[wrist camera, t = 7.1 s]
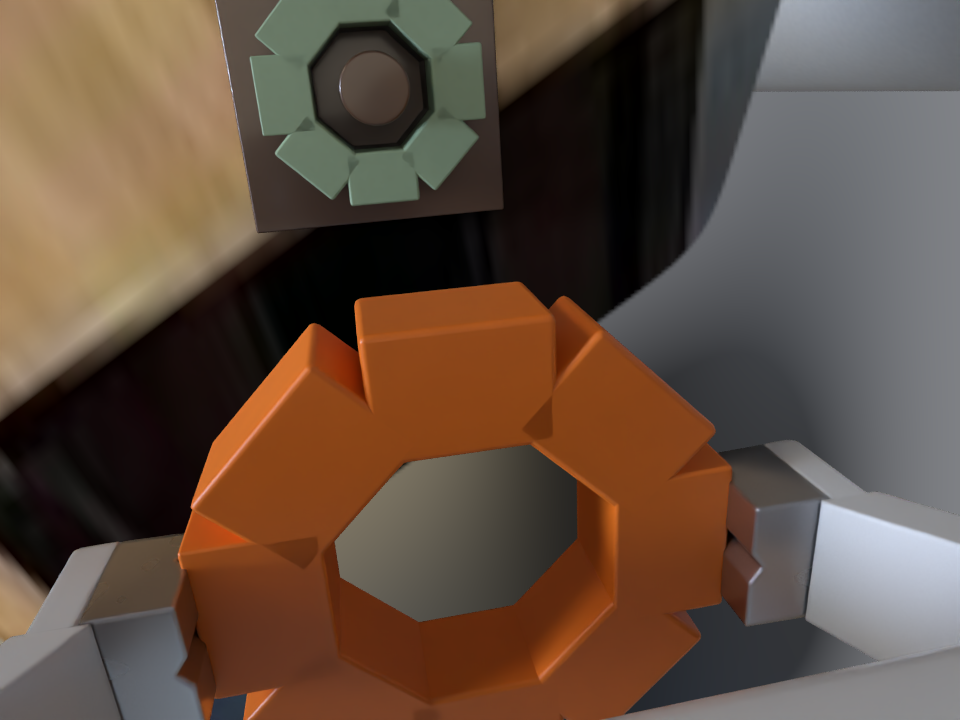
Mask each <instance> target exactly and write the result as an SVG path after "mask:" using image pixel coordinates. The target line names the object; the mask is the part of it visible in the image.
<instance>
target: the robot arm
mask: <svg viewBox="0 0 960 720" xmlns="http://www.w3.org/2000/svg"><path fill="white" fill-rule="evenodd" d="M718 454H719V455H720V456H721V457H722V458H723V459H724V460H726V461H727V462H728V463H729V464H730V465H731V467H732V481H730V484H729V495H728V506H727V517H726V527H727V528H728V531H727V543H726V548H725V550H724V553H723V567H722V581H721V595H722V596H723V597H724V599H725V600H726V601H727V603H728V604H729V605H730V606H731V608H732V609H733V610H734V612H735V613H736V614H737V615H738V617H739V618H740V619H741V621H742V622H743V623H744V624H745V625H746V626H752V625H759V624H765V623H771V622H777V621H782V620H789V619H795V618H800V617H805V620H807V621H808V622H810V623H812V624H813V625H815V626H817V627H819V628H821V629H822V630H824V631H826V632H828V633H829V634H831V635H833V636H835V637H836V638H838V639H840V640H841V641H843V642H845V643H847V644H848V645H850V646H852V647H854V648H856V649H857V650H859V651H861V652H862V653H864V654H866V655H868V656H869V657H871V658H873V659H875V660H876V661H878V662H873V663H868V664H864V665H859V666H854V667H849V668H844V669H840V670H835V671H830V672H825V673H821V674H816V675H811V676H806V677H802V678H797V679H792V680H788V681H782V682H778V683H773V684H768V685H764V686H759V687H754V688H750V689H745V690H740V691H735V692H730V693H725V694H721V695H716V696H711V697H706V698H702V699H697V700H692V701H687V702H683V703H678V704H673V705H668V706H664V707H659V708H654V709H650V710H645V711H640V712H635V713H631V714H626V715H621V716H616V717H612V718H607V719H602V720H960V515H957V514H954V513H950V512H947V511H943V510H940V509H936V508H933V507H929V506H926V505H923V504H919V503H916V502H912V501H909V500H905V499H902V498H899V497H895V496H892V495H888V494H884V493H881V492H878V491H875V492H869V493H866V492H865V491H864V490H862V489H861V488H860V487H858V486H857V485H855V484H854V483H853V482H852V481H850V480H849V479H847V478H846V477H845V476H843V475H842V474H841V473H839V472H838V471H837V470H835V469H834V468H833V467H831V466H830V465H829V464H827V463H826V462H825V461H823V460H822V459H821V458H819V457H818V456H816V455H815V454H814V453H812V452H811V451H810V450H808V449H807V448H806V447H804V446H803V445H802V444H800V443H799V442H798V441H793V440H783V441H777V442H773V443H767V444H762V445H758V446H752V447H747V448H741V449H735V450H730V451H724V452H719V453H718ZM184 534H185V533H183V534H175V535H168V536H161V537H153V538H146V539H138V540H131V541H124V542H122V543H121V542H113V543H107V544H101V545H95V546H90V547H84V548H80V549H78V550H76V551H74V552H73V553H72V555H71V557H70V558H69V560H68V562H67V564H66V565H65V567H64V569H63V570H62V572H61V574H60V576H59V577H58V579H57V581H56V583H55V584H54V586H53V588H52V589H51V591H50V593H49V595H48V596H47V598H46V600H45V601H44V603H43V605H42V607H41V608H40V610H39V612H38V614H37V615H36V617H35V619H34V620H33V622H32V624H31V626H30V627H29V629H28V631H27V632H26V634H25V635H19V636H13V637H10V638H9V639H8V640H6V641H5V642H3V643H2V644H1V645H0V720H210V716H211V711H212V707H213V702H214V697H215V692H216V684H215V680H214V676H213V672H212V667H211V663H210V659H209V655H208V651H207V647H206V644H205V643H204V642H202V641H201V640H200V639H199V636H198V633H197V629H196V624H197V620H198V616H199V615H198V611H197V608H196V604H195V600H194V596H193V593H192V589H191V585H190V581H189V578H188V574H187V570H186V569H181V567H180V563H179V559H178V551H179V548H180V546H181V543H182V540H183V537H184Z"/></svg>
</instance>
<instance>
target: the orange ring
mask: <svg viewBox="0 0 960 720" xmlns="http://www.w3.org/2000/svg"><path fill="white" fill-rule="evenodd" d="M355 318H356V329H357V341H358V349H359V353H358V352H356V351H355V350H354V349H352V348H351V347H349V346H348V345H347V344H345V343H344V342H343V341H341V340H340V339H338V338H337V337H336V336H334V335H333V334H331V333H330V332H329V331H327V330H326V329H325V328H323V327H322V326H320V325H319V324H315V323H313V324H311V325H309V326H308V328H307V329H306V330H305V331H304V333H303V334H302V335H301V336H300V337H299V339H298V340H297V341H296V342H295V343H294V345H293V346H292V347H291V348H290V350H289V351H288V352H287V353H286V354H285V356H284V357H283V358H282V359H281V361H280V362H279V363H278V364H277V365H276V367H275V368H274V369H273V370H272V371H271V373H270V374H269V375H268V376H267V378H266V379H265V380H264V381H263V382H262V384H261V385H260V386H259V387H258V389H257V390H256V391H255V392H254V393H253V395H252V396H251V397H250V398H249V399H248V401H247V402H246V403H245V404H244V406H243V407H242V408H241V409H240V410H239V412H238V413H237V414H236V415H235V416H234V418H233V419H232V420H231V421H230V423H229V424H228V425H227V426H226V427H225V429H224V430H223V431H222V432H221V434H220V435H219V436H218V437H217V438H216V440H215V441H214V442H213V444H212V446H211V449H210V452H209V455H208V458H207V461H206V464H205V466H204V469H203V472H202V475H201V478H200V481H199V483H198V486H197V489H196V492H195V495H194V498H193V500H192V504H191V509H192V510H193V511H192V514H191V516H190V519H189V522H188V525H187V528H186V531H185V534H184V537H183V540H182V543H181V546H180V548H179V551H178V559H179V563H180V567H181V569H186V570H187V574H188V578H189V581H190V585H191V589H192V593H193V596H194V600H195V604H196V608H197V611H198V615H199V616H198V620H197V624H196V629H197V633H198V636H199V639H200V640H201V641H202V642H204V643H205V644H206V647H207V651H208V655H209V659H210V663H211V667H212V672H213V676H214V680H215V684H216V692H215V699H220V698H226V697H231V696H236V695H242V694H247V699H246V705H245V712H244V719H243V720H563V718H565V719H567V720H602V719H607V718H612V717H616V716H621V715H624V714H625V713H626V712H627V711H628V710H629V709H630V708H631V707H632V706H633V705H634V704H635V703H636V702H637V701H638V700H639V699H640V698H641V697H642V696H643V695H644V694H645V693H646V692H647V691H648V690H649V689H650V688H651V687H652V686H653V685H654V684H655V683H656V682H657V681H658V680H659V679H661V678H662V677H663V676H664V675H665V673H667V672H668V671H669V670H670V669H671V668H672V667H673V666H674V665H675V664H676V663H677V662H678V661H679V660H680V659H681V658H682V657H683V656H684V655H685V654H686V653H687V652H688V651H689V650H690V649H691V648H692V647H693V646H694V645H695V644H696V643H697V642H698V641H699V640H700V638H701V634H700V632H699V630H698V628H697V627H696V625H695V624H694V622H693V621H692V620H691V618H690V617H689V615H688V614H687V612H686V611H685V610H690V609H695V608H701V607H706V606H712V605H716V604H720V603H721V601H722V595H721V581H722V567H723V553H724V550H725V548H726V543H727V531H728V528H727V527H726V517H727V506H728V495H729V484H730V481H732V467H731V465H730V464H729V463H728V462H727V461H726V460H724V459H723V458H722V457H721V456H720V455H719V454H718V453H717V452H716V451H715V450H714V449H713V448H711V446H710V445H708V444H707V442H708V441H709V440H710V439H711V438H712V437H713V436H714V434H715V432H716V430H715V428H714V425H713V424H712V423H711V422H710V421H709V420H707V419H706V418H705V417H704V416H703V415H702V414H701V413H700V412H698V411H697V410H696V409H695V408H694V407H693V406H692V405H690V404H689V403H688V402H687V401H686V400H685V399H684V398H682V397H681V396H680V395H679V394H678V393H677V392H676V391H675V390H673V389H672V388H671V387H670V386H669V385H668V384H667V383H665V382H664V381H663V380H662V379H661V378H660V377H659V376H657V375H656V374H655V373H654V372H653V371H652V370H651V369H649V368H648V367H647V366H646V365H645V364H644V363H643V362H641V361H640V360H639V359H638V358H637V357H636V356H634V355H633V354H632V353H631V352H630V351H629V350H628V349H627V348H626V347H624V346H623V345H622V344H621V343H620V342H619V341H618V340H616V339H615V338H614V337H613V336H612V335H611V334H610V333H608V332H607V331H606V330H605V329H604V328H603V327H601V326H600V325H599V324H598V323H597V322H596V321H595V320H594V319H593V318H591V317H590V316H589V315H588V314H587V313H586V312H585V311H583V310H582V309H581V308H580V307H579V306H578V305H577V304H575V303H574V302H573V301H572V300H571V299H570V298H569V297H565V296H562V297H560V298H559V299H558V300H557V301H556V302H555V303H554V304H553V305H552V306H551V308H550V309H549V310H548V309H547V308H546V307H545V306H544V305H543V304H542V303H541V302H540V301H539V300H538V299H537V298H536V297H535V296H534V295H533V294H532V293H531V292H530V290H529V289H528V288H527V287H526V286H525V285H524V284H523V283H520V282H510V283H500V284H491V285H482V286H472V287H463V288H454V289H444V290H435V291H426V292H416V293H407V294H398V295H388V296H379V297H370V298H361V299H359V300H357V301H356V302H355ZM528 444H530V445H532V446H533V447H535V448H536V449H537V450H538V451H540V452H541V453H542V454H544V455H545V456H547V457H548V458H549V459H551V460H552V461H553V462H555V463H556V464H557V465H559V466H560V467H561V468H563V469H564V470H565V471H567V472H568V473H570V474H571V475H572V476H573V477H575V478H576V479H577V533H578V534H577V535H578V538H577V539H576V540H575V542H574V543H573V544H572V545H571V546H570V547H569V548H568V549H567V550H566V551H565V552H564V553H563V554H562V555H561V556H560V557H559V558H558V559H557V560H556V561H555V563H554V564H553V565H552V566H551V567H550V568H549V569H548V570H547V571H546V572H545V573H544V574H543V575H542V576H541V577H540V578H539V579H538V580H537V581H536V583H534V585H533V586H532V587H531V588H530V589H529V590H528V591H527V592H526V593H525V594H524V595H523V596H522V597H521V598H520V599H519V600H518V601H517V602H516V603H515V604H514V605H512V606H506V607H501V608H495V609H490V610H484V611H479V612H473V613H468V614H462V615H456V616H451V617H445V618H440V619H435V620H429V621H423V622H417V621H416V620H414V619H412V618H410V617H409V616H407V615H405V614H403V613H402V612H400V611H398V610H396V609H395V608H393V607H391V606H389V605H388V604H386V603H384V602H382V601H381V600H379V599H377V598H375V597H373V596H372V595H370V594H368V593H366V592H365V591H363V590H361V589H359V588H358V587H356V586H354V585H352V584H351V583H349V582H347V581H345V580H344V579H342V578H340V574H339V568H338V561H337V555H336V549H335V543H334V541H335V540H336V539H337V538H338V537H339V535H340V534H341V533H342V532H343V531H344V530H345V528H346V527H347V526H348V525H349V524H350V523H351V522H352V521H353V520H354V518H355V517H356V516H357V515H358V514H359V513H360V512H361V510H362V509H363V508H364V507H365V506H366V505H367V504H368V503H369V501H370V500H371V499H372V498H373V497H374V496H375V495H376V493H377V492H378V491H379V490H380V489H381V488H382V487H383V486H384V484H385V483H386V482H387V481H388V480H389V479H390V478H391V477H392V475H393V474H394V473H395V472H396V471H397V470H398V469H399V467H400V466H401V465H402V464H403V463H404V462H411V461H418V460H425V459H431V458H438V457H446V456H452V455H459V454H466V453H473V452H480V451H487V450H493V449H501V448H507V447H514V446H521V445H528Z"/></svg>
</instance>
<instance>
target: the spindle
mask: <svg viewBox="0 0 960 720" xmlns="http://www.w3.org/2000/svg"><path fill="white" fill-rule="evenodd" d="M279 1H280V0H215V4H216V10H217V15H218V21H219V26H220V32H221V37H222V43H223V48H224V54H225V59H226V65H227V70H228V76H229V81H230V87H231V92H232V98H233V103H234V109H235V114H236V120H237V125H238V131H239V136H240V142H241V147H242V153H243V158H244V164H245V169H246V175H247V180H248V186H249V191H250V197H251V202H252V208H253V214H254V219H255V225H256V230H257V232H258V233H266V232H276V231H286V230H296V229H307V228H317V227H327V226H337V225H347V224H358V223H368V222H378V221H388V220H398V219H409V218H419V217H429V216H439V215H449V214H460V213H470V212H480V211H490V210H500V209H503V208H504V203H503V183H502V164H501V145H500V126H499V107H498V88H497V69H496V50H495V31H494V12H493V0H450V1H452V2H453V3H454V4H455V5H456V6H457V7H458V8H459V9H460V10H461V11H462V12H463V13H464V14H465V15H466V16H467V17H468V18H469V19H470V20H471V21H472V25H471V27H470V28H469V29H468V30H467V32H466V33H465V34H464V35H463V37H462V38H461V39H460V41H459V42H458V43H473V42H479V43H481V45H482V62H483V79H484V95H485V112H486V117H485V118H484V119H477V120H464V121H463V122H464V123H466V124H467V125H468V126H469V127H470V128H471V129H472V130H473V131H474V132H475V133H476V134H478V136H479V138H478V140H477V141H476V142H475V144H474V145H473V146H472V147H471V149H470V150H469V151H468V152H467V154H466V155H465V156H464V157H463V158H462V160H461V161H460V162H459V163H458V165H457V166H456V167H455V168H454V169H453V171H452V172H451V173H450V174H449V176H448V177H447V178H446V179H445V181H444V182H443V183H442V184H441V185H440V187H439V188H438V189H437V190H433V189H432V188H431V187H430V186H429V185H428V184H426V183H425V182H424V181H423V180H422V179H421V178H419V177H418V184H419V194H420V198H419V200H414V201H403V202H393V203H382V204H371V205H361V206H352V205H351V204H350V196H349V189H348V183H347V184H346V185H345V186H344V188H343V189H342V190H341V191H340V193H339V194H338V195H337V197H336V198H335V199H333V200H332V199H330V198H329V197H327V196H326V195H325V194H324V193H322V192H321V191H320V190H319V189H317V188H316V187H315V186H314V185H312V184H311V183H310V182H309V181H307V180H306V179H305V178H303V177H302V176H301V175H300V174H298V173H297V172H296V171H295V170H293V169H292V168H291V167H290V166H288V165H287V164H286V163H285V162H283V161H282V160H281V159H280V158H278V157H277V156H276V155H275V152H276V150H277V149H278V147H279V146H280V145H281V143H282V142H283V141H284V140H285V138H286V137H287V136H288V134H286V135H273V136H263V133H262V127H261V122H260V116H259V110H258V104H257V98H256V92H255V86H254V80H253V75H252V69H251V63H250V57H251V56H261V55H276V54H275V53H273V52H272V51H271V50H270V49H269V48H268V47H266V46H265V45H264V44H263V43H262V42H261V41H259V40H258V39H257V38H256V37H255V34H256V32H257V31H258V30H259V28H260V27H261V25H262V24H263V23H264V21H265V20H266V19H267V17H268V16H269V14H270V13H271V12H272V10H273V9H274V8H275V6H276V5H277V4H278V2H279ZM312 76H313V83H314V90H315V97H316V104H317V111H318V117H320V118H321V119H322V120H323V121H324V122H326V123H327V124H328V125H329V126H330V127H331V128H333V129H334V130H335V131H336V132H337V133H339V134H340V135H341V136H342V137H343V138H345V139H346V140H347V141H348V142H349V143H350V144H352V145H353V146H361V145H373V144H386V143H396V142H397V141H398V140H399V139H400V137H401V136H402V135H403V134H404V132H405V131H406V130H407V129H408V127H409V126H410V125H411V124H412V122H413V121H414V120H415V118H416V117H417V116H418V115H419V113H420V112H421V111H422V110H423V99H422V88H421V77H420V65H419V62H418V61H417V60H416V59H415V58H414V57H413V56H412V55H411V54H410V53H409V52H408V51H407V50H406V49H405V48H403V47H402V46H401V45H400V44H399V43H398V42H397V41H396V40H395V39H394V38H393V37H392V36H391V35H390V34H389V33H387V32H386V31H385V30H374V31H356V32H339V33H338V35H337V36H336V37H335V39H334V40H333V41H332V43H331V44H330V45H329V47H328V48H327V49H326V51H325V52H324V53H323V55H322V56H321V57H320V59H319V60H318V61H317V63H316V64H315V65H314V67H313V68H312Z"/></svg>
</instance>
